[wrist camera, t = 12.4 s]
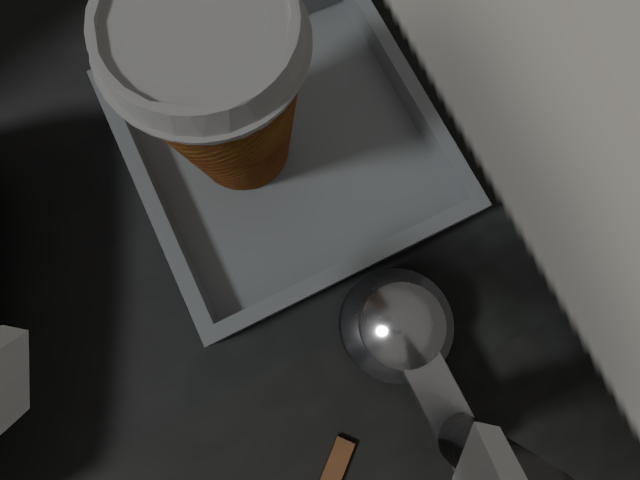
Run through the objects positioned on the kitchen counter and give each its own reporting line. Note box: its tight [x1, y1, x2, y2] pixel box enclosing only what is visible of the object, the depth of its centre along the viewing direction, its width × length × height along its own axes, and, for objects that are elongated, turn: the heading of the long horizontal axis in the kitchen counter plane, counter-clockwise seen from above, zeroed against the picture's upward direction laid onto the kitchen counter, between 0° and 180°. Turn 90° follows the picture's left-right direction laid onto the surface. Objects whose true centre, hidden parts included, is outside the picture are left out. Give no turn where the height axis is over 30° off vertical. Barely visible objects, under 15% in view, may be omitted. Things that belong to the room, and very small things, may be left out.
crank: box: [358, 282, 574, 480], centre depth 19 cm, size 12×5×9 cm, turn 26°
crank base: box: [319, 268, 454, 480], centre depth 24 cm, size 11×13×2 cm
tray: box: [87, 0, 492, 347], centre depth 27 cm, size 20×20×2 cm
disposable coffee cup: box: [84, 0, 313, 191], centre depth 21 cm, size 10×10×12 cm
